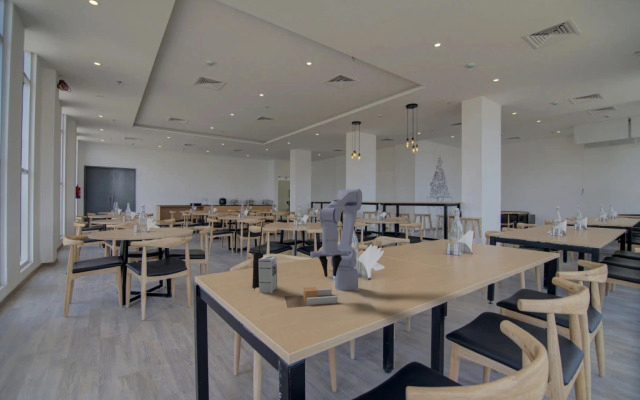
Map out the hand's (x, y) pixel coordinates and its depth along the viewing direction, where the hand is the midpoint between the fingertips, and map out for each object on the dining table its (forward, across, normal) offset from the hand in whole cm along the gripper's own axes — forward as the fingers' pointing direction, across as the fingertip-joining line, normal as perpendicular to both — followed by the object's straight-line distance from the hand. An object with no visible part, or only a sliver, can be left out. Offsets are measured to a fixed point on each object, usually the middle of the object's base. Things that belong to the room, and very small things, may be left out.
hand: (330, 276), depth 111 cm
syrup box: (+10, -22, +15) cm, 29 cm away
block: (+8, -8, 0) cm, 11 cm away
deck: (+9, -8, 0) cm, 12 cm away
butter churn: (+10, -28, +24) cm, 38 cm away
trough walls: (+8, -4, 0) cm, 9 cm away
